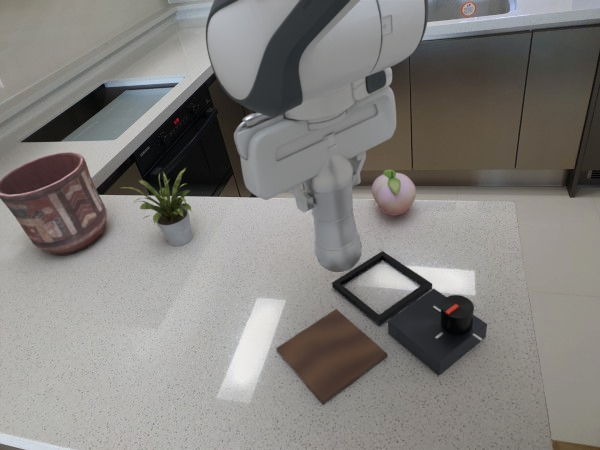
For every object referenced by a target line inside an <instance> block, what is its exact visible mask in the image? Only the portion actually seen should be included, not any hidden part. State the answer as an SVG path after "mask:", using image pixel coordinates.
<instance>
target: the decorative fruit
mask: <svg viewBox="0 0 600 450" xmlns="http://www.w3.org/2000/svg"><path fill="white" fill-rule="evenodd" d="M371 194H372V197H373V199H374V202H375V203H376V204H377V206H378V207H379V209H380V210H381V211H382V212H383V213H385V214H387V215H389V216H400V215H402V214H404V213H406V212H407V211H408V210H409V209H410V208H411V207H412V205H413V203H414V202H415V199H416V196H417V190H416V185H415V183H414V182H413V181H412V179H410V177H408V176H407V175H406V174H404V173H400V172H396V171H395V170H393V169H386V170H384V171H383V174H381V175H379V176H378V177H377V178H376V179H375V180H374V181H373V183H372V185H371Z"/></svg>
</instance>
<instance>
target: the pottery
mask: <svg viewBox="0 0 600 450" xmlns="http://www.w3.org/2000/svg"><path fill="white" fill-rule="evenodd" d="M0 200H1V201H2V202H3V204H4V205H5V206H6V208H7V209H8V211H10V213H11V214H12V215H13V216H14V218H15V219H16V221H17V222H18V224H19V225H20V226H21V229H22V230H23V231H24V233H25V234H26V237H28V239H29V240H30V242H31V243H32V244H33V245H34V246H35V247H36V248H37V249H40V250H42V251H44V252H46V253H49V254H54V255H58V256H67V255H71V254H77V253H78V252H81V251H83V250H86V249H87V248H88V247H90V246H92V245H93V244H94V243H95V242H96V241H98V240H99V238H100V236H101V235H102V234H103V232H104V230H105V228H106V222H107V215H108V213H107V208H106V206H105V203H104V202H103V200H102V198H101V196H100V194H99V192H98V190H97V188H96V186H95V183H94V180H93V178H92V176H91V174H90V171H89V167H88V164H87V162H86V158H84V156H83V155H82V154H81V153H77V152H72V151H70V152H69V151H68V152H57V153H53V154H48V155H43V156H41V157H38V158H35V159H32V160H30V161H28V162H26V163H23V164H22V165H19V166H18V167H16V168H14V169H12V170H11V171H10V172H8V173H7V174H5V175H4V176H3V177H2V178H1V179H0Z"/></svg>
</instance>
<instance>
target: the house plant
mask: <svg viewBox="0 0 600 450" xmlns="http://www.w3.org/2000/svg"><path fill="white" fill-rule="evenodd" d="M186 169H187V167H184V168H183V169H181V171H180V172H179V173H178V174H177V177H176V178H175V181H174V183H173V186H172V192H171V191H170V186H169V181H170V180H171V178H169V179H168V178H167V175H166V174H165V172H164V171H162V177H163V183H164V187H162V184H161V172H158V184H159V191H157V189H155V188H154V187H153V186H152V185H151V184H150V183H149V182H147V181H146V180H143V179H140V180H138V182H139V183H140V184H141V185H142V186H144V187H145V188H146V189H147V190H148V191H149V192H151V194H153V195H154V197H155V198H156V199H154V198H152V197H150V196H149V195H147V193H145V192H143V191H142V190H140V189H138V188H136V187H131V186H124V187H123V186H122V187H121V189H130V190H133V191H135V192H138V193H140V194H141V195H143V196H144V197H145V200H148V201H150V202H153V203H154V204H156V205H154V204H153V203H150V202H147V201H145V200H141V199H142V197H140V198H139V197H138V198H137V199H135V200H134V201H133V202H132V203H131V204H132V205H134V204H135V203H137V202H140V203H141V202H142V204H141V205H140V206H139V210H152V211H154V212H156V213H155V214H154V215H153V216H152V221H153V224H154V226H156V225H157V226H158V228H159V230H160V231H161V232H162V234H163V235H164V237H165V238H166V240H167V241H168V243H169V244H170V245H171V246H172V247H181V246H184V245H186V244H188V243H189V242H191V241H192V240H193V238H194V234H193V229H192V222H191V217H190V212H191V213H193V211H192V206H191V204H189V203H187V199H186V198H185V197H186V196H187V194H188V193H190V192H191V190H192V189H186V190H183V191H180V192H178V191H179V188H181V187H183V186H185V185H188V183H186V182H185V183H183V184H181V185H180V183H181V181H182V176H183V175H184V173H185V171H186ZM148 217H149V215H146V216H144V217H143V218H142V220H144V219H146V218H148Z"/></svg>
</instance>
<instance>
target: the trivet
mask: <svg viewBox="0 0 600 450" xmlns="http://www.w3.org/2000/svg"><path fill="white" fill-rule="evenodd" d="M275 351H276V352H277V353H278V355H279V356H280V357H281V358H282V359H283V360H284V362H285V363H286V364H287V365H288V366H289V368H290V369H291V370H292V371H293V372H294V374H296V376H297V377H298V378H299V379H300V380H301V382H303V384H304V385H305V386H306V387H307V388H308V389H309V390H310V391H311V393H312V394H313V395H314V397H316V399H317V400H318V401H319V402H320V403H321V405H325V404H326V403H328V402H329V401H331V400H332V399H333V398H335V396H337V395H339V394H340V393H341V392H342V391H344V390H345V389H346V388H348V387H349V386H350V385H352V384H353V383H354V382H356V381H357V380H358V379H359V378H361V377H363V376H364V375H365V374H366V373H367V372H369V371H370V370H372V369H373V368H375V366H377V365H379V364H380V363H381V362H382V361H384V360H385V359H386V358H388V353H387V352H386V351H385V350H384V349H383V348H381V346H379V345H378V344H377V343H376V342H374V340H373V339H371V338H370V337H369V336H368V335H367V334H366V333H365V332H364V331H362V330H361V329H360V328H359V327H358V326H357V325H355V324H354V323H353V322H352V321H351V320H350V319H348V317H346V316H345V315H344V314H343V313H342V312H341V311H340V310H338V309H337V308H335V309H333V310H332V311H331V312H329V313H328V314H326V315H324V316H323V317H322V318H320V319H318V320H317V321H315V322H313V324H310V325H309V326H308V327H307V328H305V329H303V330H302V331H300V332H299V333H297V334H295V335H294V336H292V337H291V338H289V339H288V340H287V341H285V342H283V343H282V344H280V345H279V346H278V347H276V348H275Z"/></svg>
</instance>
